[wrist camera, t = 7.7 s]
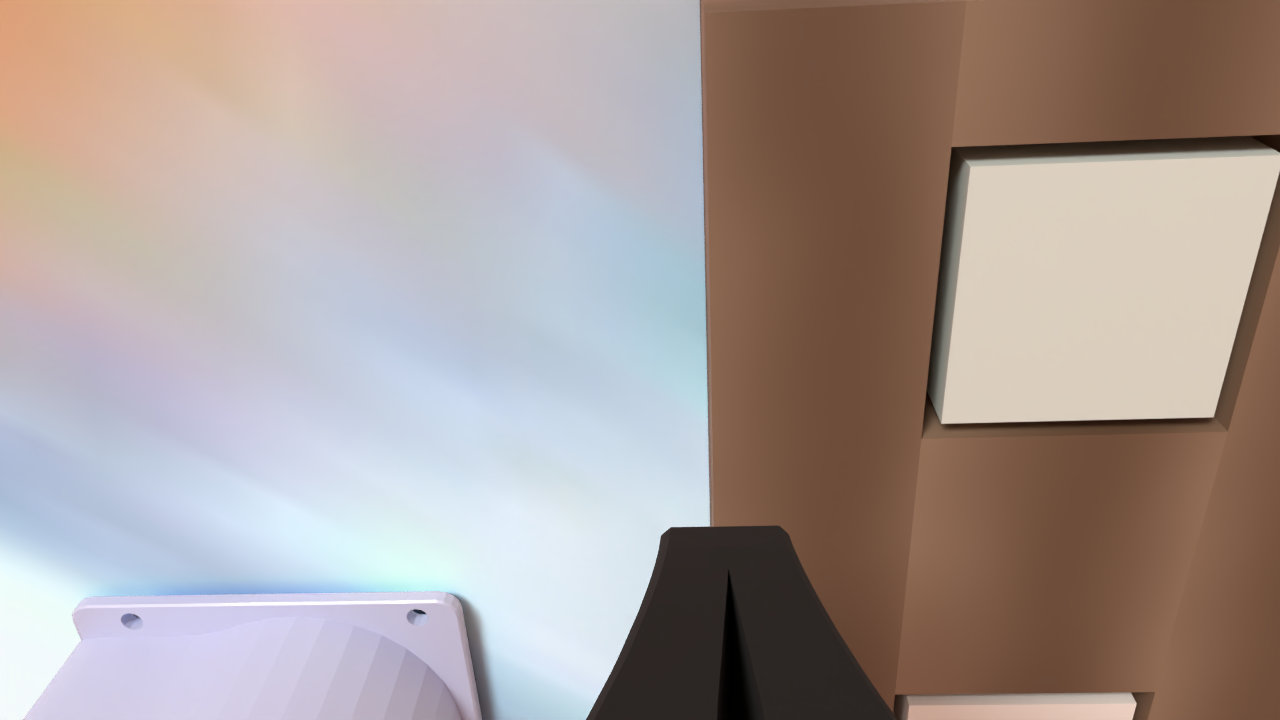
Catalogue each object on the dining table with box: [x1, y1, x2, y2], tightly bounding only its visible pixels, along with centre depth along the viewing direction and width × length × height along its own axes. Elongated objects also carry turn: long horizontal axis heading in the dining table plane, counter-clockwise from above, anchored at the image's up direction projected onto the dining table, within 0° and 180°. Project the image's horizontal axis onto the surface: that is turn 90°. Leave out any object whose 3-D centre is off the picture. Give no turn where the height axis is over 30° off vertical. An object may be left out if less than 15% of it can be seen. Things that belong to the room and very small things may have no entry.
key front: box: [926, 136, 1280, 424], centre depth 17 cm, size 4×4×3 cm
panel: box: [700, 0, 1280, 720], centre depth 20 cm, size 12×20×4 cm, turn 3°
